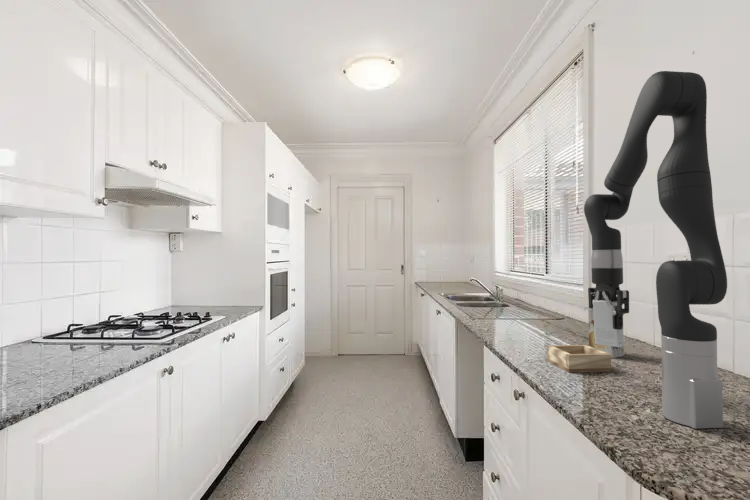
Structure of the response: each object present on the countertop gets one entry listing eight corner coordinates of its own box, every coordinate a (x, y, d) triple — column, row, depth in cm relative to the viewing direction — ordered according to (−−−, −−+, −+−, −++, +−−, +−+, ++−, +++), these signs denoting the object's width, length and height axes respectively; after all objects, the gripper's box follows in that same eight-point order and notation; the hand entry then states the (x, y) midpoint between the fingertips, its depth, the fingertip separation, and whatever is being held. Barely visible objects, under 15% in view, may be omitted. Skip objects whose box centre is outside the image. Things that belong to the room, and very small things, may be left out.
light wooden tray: (611, 371, 119) (611, 354, 119) (568, 372, 118) (568, 355, 118) (585, 359, 132) (585, 344, 132) (546, 360, 131) (546, 345, 131)
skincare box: (624, 345, 109) (623, 300, 109) (618, 348, 106) (617, 301, 107) (600, 342, 114) (599, 299, 114) (593, 344, 111) (592, 300, 111)
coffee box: (625, 356, 137) (624, 308, 137) (612, 358, 134) (612, 310, 134) (600, 350, 145) (599, 305, 145) (587, 352, 142) (587, 306, 142)
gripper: (638, 266, 104) (640, 331, 103) (603, 266, 118) (604, 323, 118) (610, 266, 103) (612, 331, 103) (578, 266, 118) (579, 323, 117)
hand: (608, 326), depth 110 cm, fingers closed on skincare box, 7 cm apart
